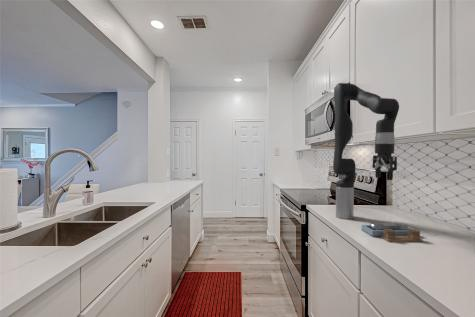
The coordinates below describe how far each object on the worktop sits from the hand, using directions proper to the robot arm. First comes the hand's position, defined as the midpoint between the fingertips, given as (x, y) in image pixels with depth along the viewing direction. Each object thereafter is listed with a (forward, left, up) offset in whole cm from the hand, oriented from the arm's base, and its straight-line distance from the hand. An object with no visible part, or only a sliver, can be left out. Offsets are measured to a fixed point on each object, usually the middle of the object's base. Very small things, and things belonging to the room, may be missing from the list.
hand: (383, 178), depth 110 cm
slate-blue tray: (+2, +2, -24) cm, 24 cm away
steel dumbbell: (+2, +2, -24) cm, 24 cm away
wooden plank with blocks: (+10, +2, -24) cm, 26 cm away
